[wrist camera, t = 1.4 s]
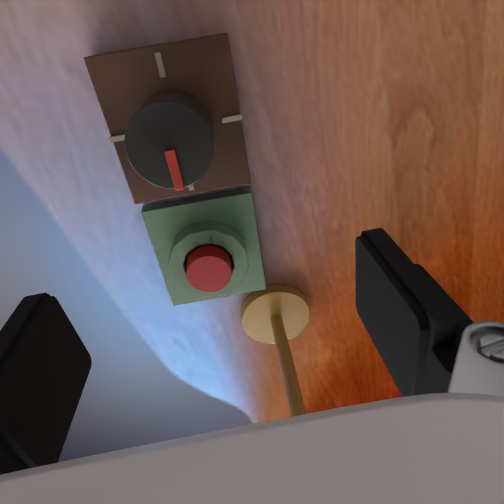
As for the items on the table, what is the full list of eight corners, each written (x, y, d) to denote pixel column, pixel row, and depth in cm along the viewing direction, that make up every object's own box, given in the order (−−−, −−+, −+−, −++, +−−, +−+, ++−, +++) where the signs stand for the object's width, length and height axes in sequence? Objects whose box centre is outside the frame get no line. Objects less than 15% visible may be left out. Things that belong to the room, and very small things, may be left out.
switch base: (143, 205, 29) (136, 222, 27) (250, 186, 30) (254, 201, 27) (174, 298, 35) (171, 319, 32) (264, 281, 35) (269, 301, 32)
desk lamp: (229, 288, 35) (259, 646, 15) (310, 273, 35) (450, 610, 15) (242, 344, 39) (279, 683, 19) (313, 331, 39) (426, 654, 19)
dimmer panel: (90, 55, 24) (80, 57, 22) (227, 32, 24) (229, 32, 22) (138, 194, 29) (133, 205, 27) (249, 175, 29) (252, 184, 27)
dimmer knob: (128, 95, 23) (109, 111, 19) (204, 82, 23) (203, 94, 19) (151, 169, 26) (138, 198, 21) (219, 157, 26) (221, 183, 21)
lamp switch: (182, 248, 29) (181, 260, 27) (226, 240, 29) (227, 252, 28) (192, 283, 31) (192, 296, 29) (233, 276, 31) (235, 288, 29)
